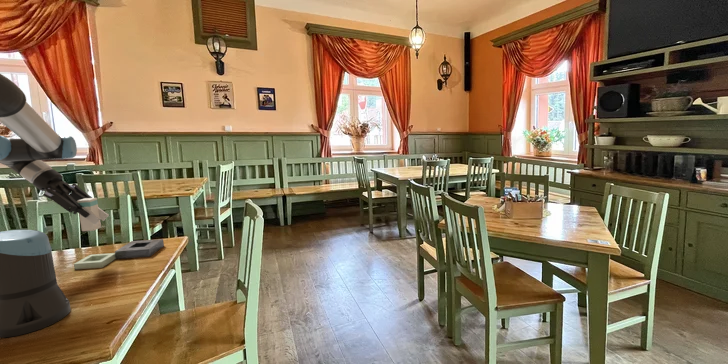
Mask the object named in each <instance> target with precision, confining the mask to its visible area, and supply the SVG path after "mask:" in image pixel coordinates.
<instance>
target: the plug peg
mask: <svg viewBox="0 0 728 364" xmlns="http://www.w3.org/2000/svg"><path fill="white" fill-rule="evenodd" d="M77 202H78V203H79V204H80V205H81V206H82V208H83V207H86V208H87V209H89V210H90V211H92V212H93V213H94V214H96V215H97V216H98V217H100V216H99V209H98V207H99V202H98V198H97V197H92V198H84V199H81V200H78V201H77ZM78 214H79V213H78ZM78 216H79V220H80V221H79V222H80V227H81V231H82V232H89V231H91V232H93V231H94V232H95V231H96V230H99V229H101V228H102V223H101V219H100V220H99V221H98V222H97V223H96V224H95V225H94V224H93V223H92V222H90V221H89V220H88V219H86V218H85V217H83V216H82V215H81V214H79V215H78Z"/></svg>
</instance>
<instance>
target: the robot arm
mask: <svg viewBox="0 0 728 364" xmlns="http://www.w3.org/2000/svg"><path fill="white" fill-rule="evenodd" d="M0 123H1V124H3V125H4V126H5V128H8V129H9V130H10V131H12V133H13V134H15V135H16V136H17V137H6V136H3V135H0V164H1V165H4V166H6V167H8V168H9V169H11V170H12V171H13V172H15V173H17V174H18V175H19V176H21V177H22V178H23V179H25V181H28V182H29V183H30V184H32V185H33V186H34V187H36V188H37V189H38V190H40V191H42V192H44V193H43V194H42V196H44V197H46V198H48V199H49V200H51V201H53V202H54V203H55V204H57V205H59V206H60V207H61V208H62V209H64V210H66V211H68V212H69V213H71V214H74V215H76V214H77V213H78V214H81V215H82V216H83V217H85V218H86V219H88V220H89V221H90V222H92V223H93V224H94V225H95V224H96V223H97V222H98V221H99V220H100V221H103V222H104V221H106V219H107V218H108V217H109V216H110V214H109V213H107V212H105V210H103V209H102V208H100V207H99V206H98V209H99V216H100V217H98V216H97V215H96V214H94V213H93V212H92V211H90V210H89V209H87V208H86V207H83V208H82V206H81V205H80V204H79V203H78V202H77V201H78V200H81V199H84V198H93V197H92V196H90V195H89V194H88V193H87V192H85V191H84V190H83V189H81V187H80V186H78V184H76V183H75V182H74V183H72V184H69V183H68V182H66V181H64V180H63V179H64V178H63V175H62V174H61V173H60V172H58V171H57V170H55V169H53V168H52V166H50V165H49V164H47V163H46V162H45V160H64V159H65V160H66V159H73V158H75V157H76V156H77V151H78V149H77V143H76V140H75V139H74V137H73V136H70V135H59V134H58V133H57V132H56V131H55V130H54V129H53V128H52V126H50V125H49V124H48V123H47V122H46V121H45V119H43V118H42V116H41V115H39V113H38V112H37V111H36V110H35V109H34V108H33V107H32V106H31V105H30V104H29V103H28V101H27V96H26V94H25V92H23V90H22V89H21V88H20V87H19V86H18V85H17V84H16V83H15V82H13V81H12V80H11V79H10V78H8V77H7V76H5V75H3V74H2V73H0ZM52 250H53V247H52V246H51V244H50V239H49V236H48V235H47V234H46V233H45V232H43V231H40V230H35V229H12V230H10V229H9V230H5V231H0V339H1V338H10V337H12V338H13V337H17V336H22V335H26V334H29V333H33V332H36V331H39V330H42V329H44V328H47V327H48V326H51V325H53V324H55V323H57V322H59V321H61V320H62V319H64V318H65V317H66V316H68V315H69V314H70V312H71V310H72V308H71V304H70V303H71V302H70V300H69V299H68V298H67V297H66V295H65V294H64V292H63V290H62V289H61V287H60V286H59V284H58V281H57V276H56V275H57V274H56V269H55V264H54V258H53V252H52Z"/></svg>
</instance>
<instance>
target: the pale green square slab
mask: <svg viewBox="0 0 728 364" xmlns="http://www.w3.org/2000/svg"><path fill="white" fill-rule="evenodd" d="M115 260H117V259H116V256H115V252H111V253H97V254H89V255H87V256H86V257H83V258H82V259H80V260H78V261H76V262H74V263H73V267H74V270H84V269H85V270H86V269H97V268H99V269H101V268H104V267H106V266H107V265H108V264H110V263H111V262H113V261H115Z"/></svg>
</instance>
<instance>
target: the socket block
mask: <svg viewBox="0 0 728 364" xmlns="http://www.w3.org/2000/svg"><path fill="white" fill-rule="evenodd" d="M163 247H165V243H164V238H158V239H143V240H142V239H141V240H131V241H130V242H128V243H126V244H124V245H123V246H121V247H120V248H118V249H117V250H115V251H114V253H115V256H116V259H115V260H120V259H123V260H125V259H132V258H133V259H134V258H135V259H136V258H137V259H138V258H150V257H152V255H154V254H155V253H156V252H158V251H159V250H161V249H162V248H163Z"/></svg>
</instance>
